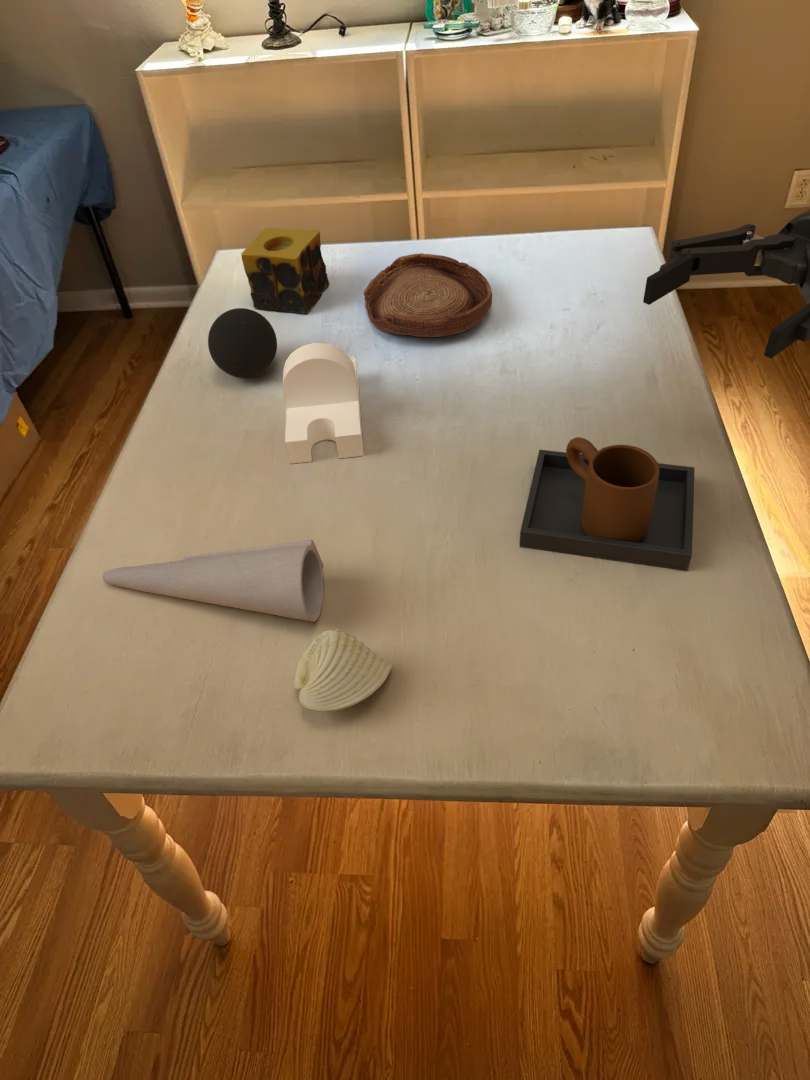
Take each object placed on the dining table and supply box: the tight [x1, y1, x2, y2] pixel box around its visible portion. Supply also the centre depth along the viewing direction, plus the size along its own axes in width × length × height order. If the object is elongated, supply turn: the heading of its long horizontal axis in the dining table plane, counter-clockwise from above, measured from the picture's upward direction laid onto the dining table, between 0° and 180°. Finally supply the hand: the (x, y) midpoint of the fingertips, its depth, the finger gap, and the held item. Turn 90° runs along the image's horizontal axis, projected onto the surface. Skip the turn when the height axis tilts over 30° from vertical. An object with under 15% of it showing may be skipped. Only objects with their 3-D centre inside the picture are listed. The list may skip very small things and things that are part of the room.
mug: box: [565, 436, 659, 543], centre depth 89 cm, size 12×8×9 cm, turn 36°
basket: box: [363, 253, 493, 338], centre depth 126 cm, size 22×20×5 cm
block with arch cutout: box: [282, 342, 365, 465], centre depth 106 cm, size 18×10×11 cm, turn 5°
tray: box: [519, 449, 695, 572], centre depth 92 cm, size 15×19×3 cm
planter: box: [102, 539, 325, 622], centre depth 86 cm, size 8×9×26 cm
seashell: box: [293, 628, 393, 713], centre depth 77 cm, size 8×8×8 cm
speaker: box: [207, 307, 278, 379], centre depth 116 cm, size 10×10×10 cm
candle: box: [240, 227, 330, 315], centre depth 130 cm, size 10×10×10 cm
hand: (706, 316), depth 74 cm, fingers open, 13 cm apart
